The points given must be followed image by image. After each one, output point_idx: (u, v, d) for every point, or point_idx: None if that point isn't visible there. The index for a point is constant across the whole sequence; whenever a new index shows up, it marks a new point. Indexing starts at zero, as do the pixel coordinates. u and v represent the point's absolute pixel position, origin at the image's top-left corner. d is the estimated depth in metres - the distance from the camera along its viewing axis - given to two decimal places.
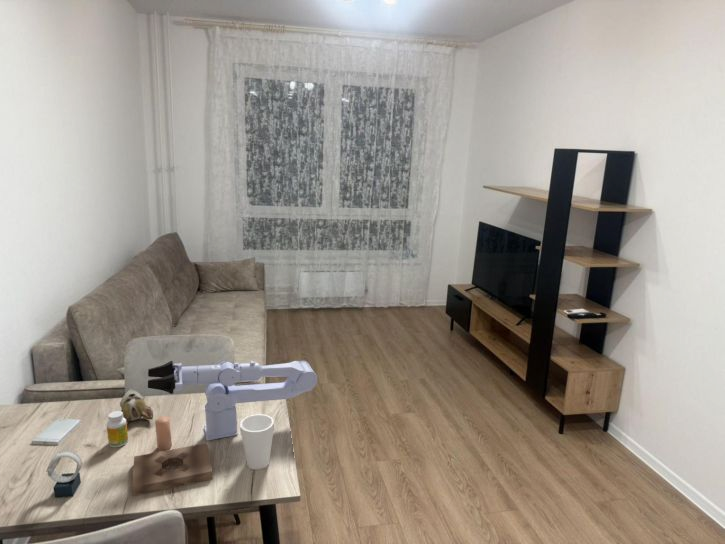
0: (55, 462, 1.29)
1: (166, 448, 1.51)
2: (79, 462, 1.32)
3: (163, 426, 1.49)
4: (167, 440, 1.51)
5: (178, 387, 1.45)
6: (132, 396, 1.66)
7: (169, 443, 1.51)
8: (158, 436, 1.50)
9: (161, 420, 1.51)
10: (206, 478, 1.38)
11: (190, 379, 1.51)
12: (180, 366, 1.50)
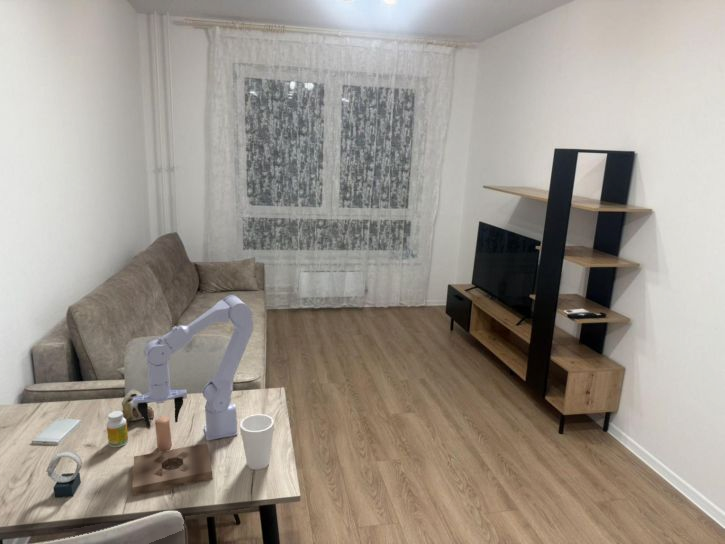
0: (55, 462, 1.29)
1: (166, 448, 1.51)
2: (79, 462, 1.32)
3: (163, 426, 1.49)
4: (167, 440, 1.51)
5: (186, 394, 1.51)
6: (133, 396, 1.66)
7: (169, 443, 1.51)
8: (158, 436, 1.50)
9: (161, 420, 1.51)
10: (206, 478, 1.38)
11: None
12: (163, 401, 1.45)
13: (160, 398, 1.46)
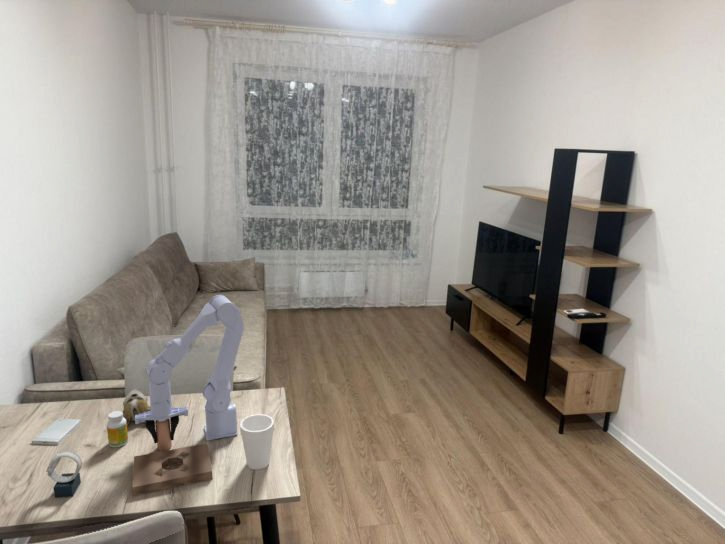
0: (55, 462, 1.29)
1: (166, 448, 1.51)
2: (79, 462, 1.32)
3: (163, 426, 1.49)
4: (167, 440, 1.51)
5: (187, 411, 1.53)
6: (134, 396, 1.66)
7: (169, 443, 1.51)
8: (158, 436, 1.50)
9: None
10: (206, 478, 1.38)
11: None
12: (165, 419, 1.47)
13: (162, 416, 1.47)
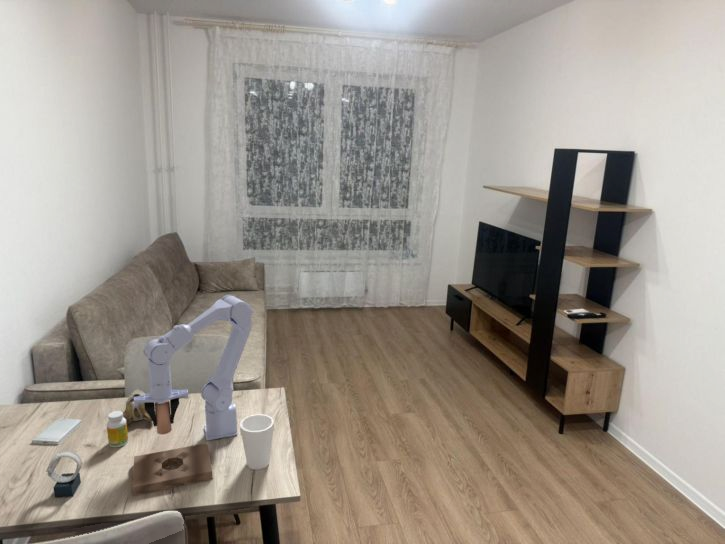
0: (55, 462, 1.29)
1: (166, 431, 1.47)
2: (79, 462, 1.32)
3: (163, 409, 1.45)
4: (166, 423, 1.47)
5: None
6: (136, 396, 1.66)
7: (169, 426, 1.48)
8: (158, 419, 1.46)
9: None
10: (206, 478, 1.38)
11: None
12: (165, 401, 1.43)
13: (161, 398, 1.43)
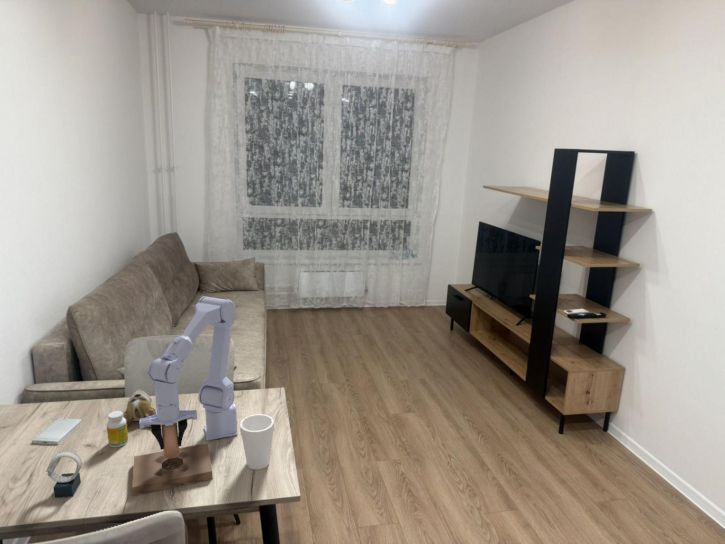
0: (55, 462, 1.29)
1: (173, 455, 1.39)
2: (79, 462, 1.32)
3: (170, 431, 1.37)
4: (174, 446, 1.38)
5: (196, 414, 1.40)
6: (137, 396, 1.66)
7: (176, 449, 1.39)
8: (165, 442, 1.37)
9: None
10: (206, 478, 1.38)
11: None
12: (172, 423, 1.34)
13: (169, 420, 1.35)
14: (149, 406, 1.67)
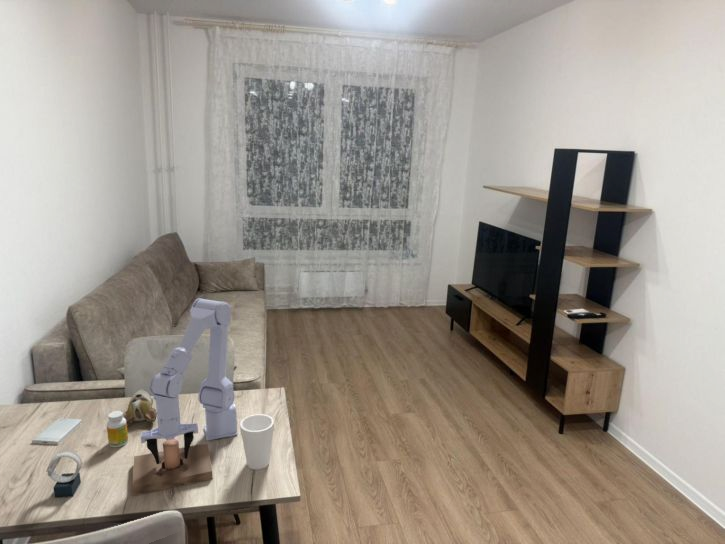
0: (55, 462, 1.29)
1: None
2: (79, 462, 1.32)
3: (172, 450, 1.38)
4: (175, 465, 1.40)
5: (197, 428, 1.41)
6: (138, 397, 1.66)
7: (178, 467, 1.41)
8: (166, 460, 1.39)
9: (169, 442, 1.40)
10: (206, 478, 1.38)
11: None
12: (173, 437, 1.36)
13: (170, 434, 1.36)
14: (150, 406, 1.67)
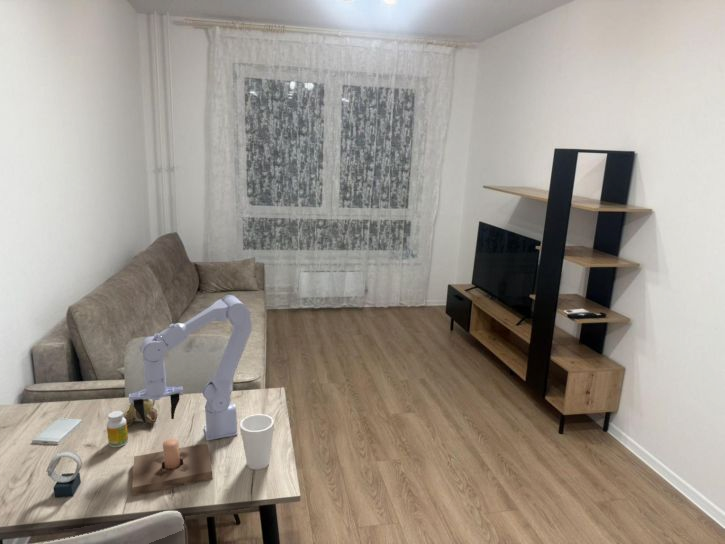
0: (55, 462, 1.29)
1: None
2: (79, 462, 1.32)
3: (172, 450, 1.38)
4: (175, 465, 1.40)
5: (182, 390, 1.50)
6: None
7: (178, 467, 1.41)
8: (166, 460, 1.39)
9: (169, 442, 1.40)
10: (206, 478, 1.38)
11: None
12: (159, 397, 1.45)
13: (156, 395, 1.45)
14: (151, 407, 1.66)
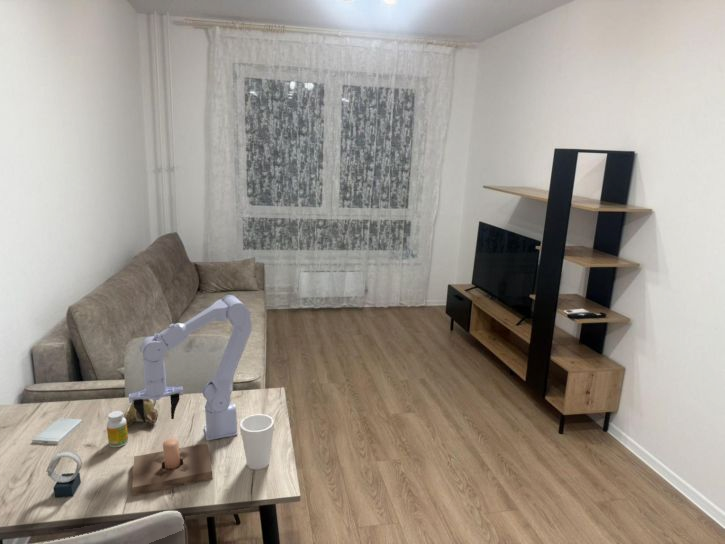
0: (55, 462, 1.29)
1: None
2: (79, 462, 1.32)
3: (172, 450, 1.38)
4: (175, 465, 1.40)
5: (182, 390, 1.50)
6: None
7: (178, 467, 1.41)
8: (166, 460, 1.39)
9: (169, 442, 1.40)
10: (206, 478, 1.38)
11: None
12: (159, 397, 1.45)
13: (156, 395, 1.45)
14: (151, 407, 1.66)
